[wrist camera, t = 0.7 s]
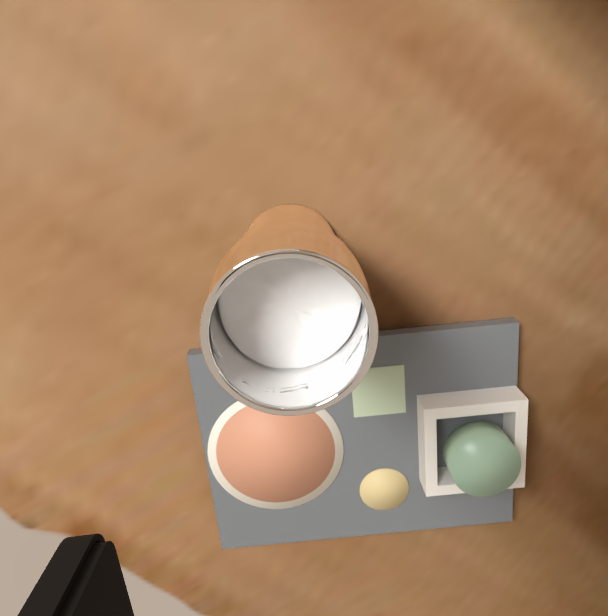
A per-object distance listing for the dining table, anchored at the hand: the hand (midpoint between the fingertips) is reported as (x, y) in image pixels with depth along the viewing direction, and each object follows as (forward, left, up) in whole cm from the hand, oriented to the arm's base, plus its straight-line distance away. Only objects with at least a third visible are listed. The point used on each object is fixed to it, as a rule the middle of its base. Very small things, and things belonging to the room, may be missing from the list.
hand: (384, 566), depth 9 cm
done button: (+14, +9, -22) cm, 28 cm away
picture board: (+14, +2, -25) cm, 29 cm away
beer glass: (0, -2, -26) cm, 26 cm away
